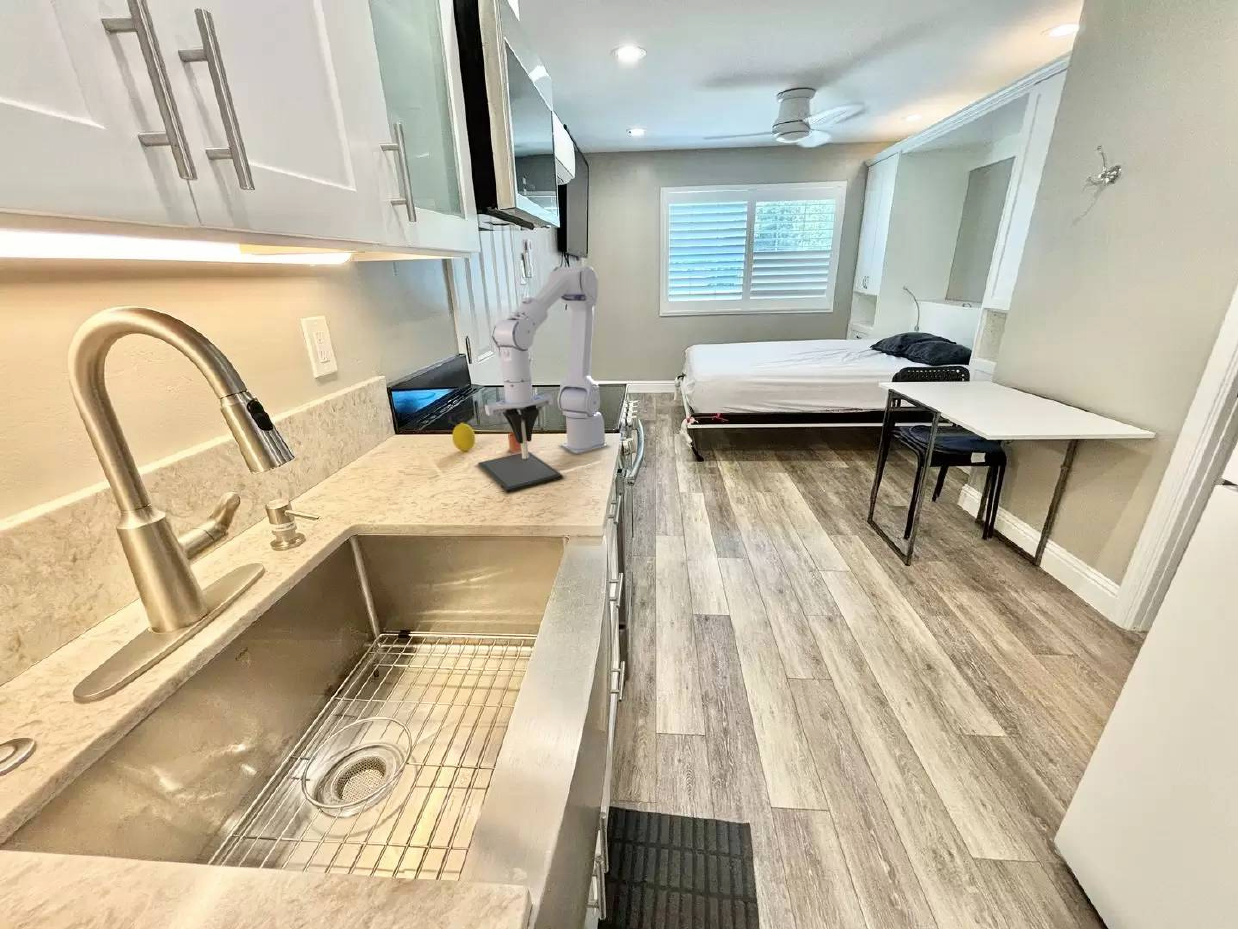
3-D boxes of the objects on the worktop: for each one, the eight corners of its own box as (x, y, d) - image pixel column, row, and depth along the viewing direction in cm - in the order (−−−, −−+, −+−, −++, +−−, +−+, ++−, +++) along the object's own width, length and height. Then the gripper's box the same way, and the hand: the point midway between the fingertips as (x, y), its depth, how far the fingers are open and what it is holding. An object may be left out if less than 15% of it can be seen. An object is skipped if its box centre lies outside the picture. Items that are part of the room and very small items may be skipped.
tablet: (528, 454, 125) (528, 450, 124) (562, 478, 110) (562, 474, 109) (478, 466, 118) (478, 462, 118) (507, 493, 103) (507, 489, 103)
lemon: (470, 456, 124) (466, 426, 121) (451, 455, 125) (446, 425, 122) (480, 449, 129) (476, 420, 126) (461, 448, 130) (457, 419, 127)
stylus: (527, 458, 109) (523, 419, 106) (529, 460, 108) (525, 421, 105) (521, 459, 109) (517, 421, 105) (523, 461, 108) (519, 422, 104)
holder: (519, 447, 130) (517, 431, 128) (524, 451, 127) (522, 434, 125) (508, 450, 128) (506, 434, 126) (512, 453, 125) (510, 437, 124)
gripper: (541, 372, 109) (546, 430, 114) (476, 381, 101) (485, 443, 106) (555, 377, 103) (559, 438, 108) (488, 387, 96) (496, 452, 101)
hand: (523, 441), depth 107 cm, fingers closed on stylus, 1 cm apart
